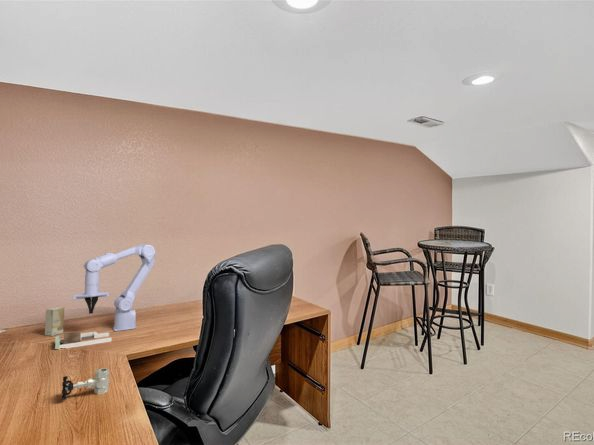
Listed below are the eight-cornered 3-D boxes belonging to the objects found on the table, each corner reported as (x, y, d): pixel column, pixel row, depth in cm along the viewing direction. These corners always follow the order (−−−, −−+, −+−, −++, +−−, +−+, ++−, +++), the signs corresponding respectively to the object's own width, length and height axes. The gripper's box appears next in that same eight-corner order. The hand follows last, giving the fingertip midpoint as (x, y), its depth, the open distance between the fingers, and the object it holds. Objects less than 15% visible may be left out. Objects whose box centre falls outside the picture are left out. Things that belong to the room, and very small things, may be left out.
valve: (108, 386, 108) (63, 394, 102) (109, 365, 108) (64, 372, 102) (109, 394, 102) (61, 404, 96) (110, 372, 103) (62, 381, 96)
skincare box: (52, 336, 156) (53, 309, 157) (44, 335, 157) (45, 309, 158) (64, 332, 163) (65, 306, 163) (56, 331, 164) (57, 306, 164)
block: (79, 341, 150) (80, 331, 150) (80, 344, 146) (80, 334, 146) (63, 344, 147) (63, 333, 147) (63, 347, 143) (63, 336, 143)
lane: (107, 332, 163) (107, 326, 163) (111, 341, 150) (111, 334, 151) (55, 340, 151) (55, 333, 151) (55, 350, 139) (55, 342, 139)
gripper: (74, 286, 154) (72, 316, 153) (110, 284, 162) (109, 312, 162) (73, 284, 160) (72, 313, 159) (108, 282, 168) (107, 310, 168)
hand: (90, 313), depth 161 cm, fingers closed
